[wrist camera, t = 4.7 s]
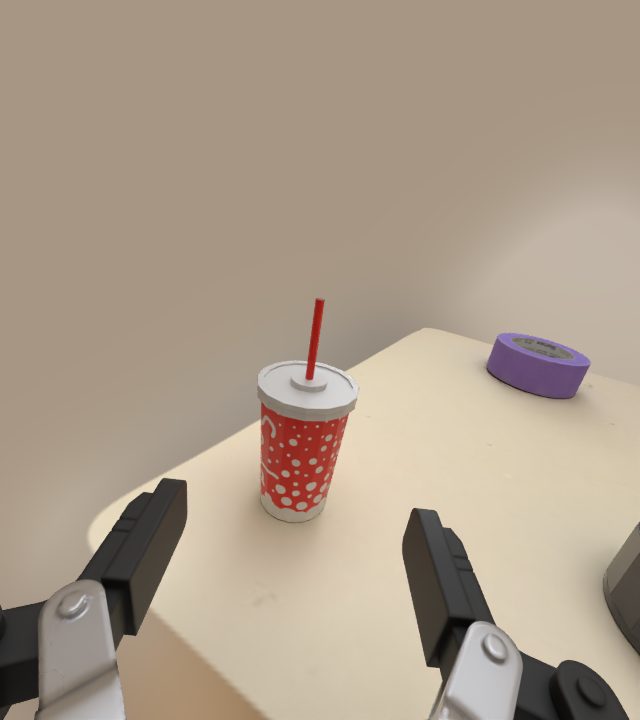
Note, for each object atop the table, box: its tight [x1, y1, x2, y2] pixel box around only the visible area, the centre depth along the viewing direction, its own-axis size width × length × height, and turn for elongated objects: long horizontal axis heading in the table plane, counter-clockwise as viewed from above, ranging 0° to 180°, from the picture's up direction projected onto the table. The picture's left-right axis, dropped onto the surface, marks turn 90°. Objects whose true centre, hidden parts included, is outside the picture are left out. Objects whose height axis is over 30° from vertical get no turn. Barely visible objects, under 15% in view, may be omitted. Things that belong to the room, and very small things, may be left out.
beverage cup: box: [257, 298, 359, 522], centre depth 22 cm, size 6×6×14 cm
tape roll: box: [487, 333, 591, 399], centre depth 50 cm, size 12×12×5 cm
